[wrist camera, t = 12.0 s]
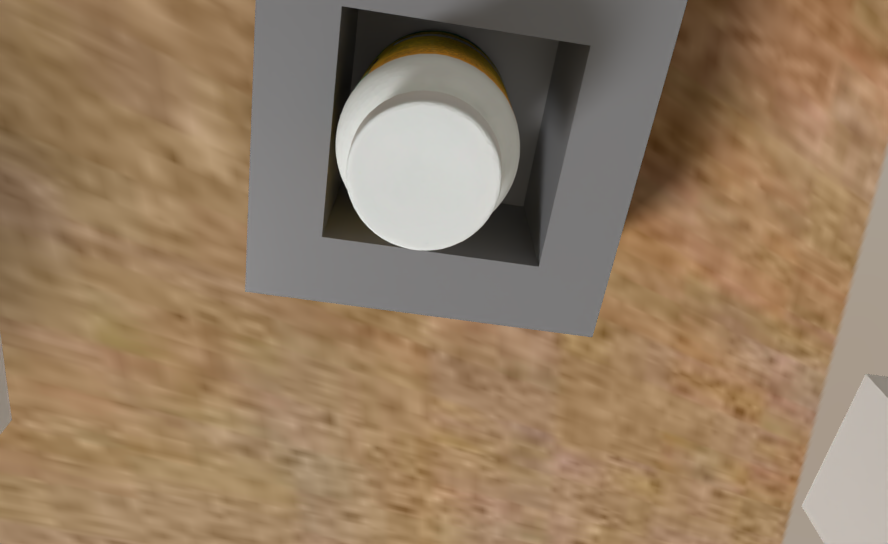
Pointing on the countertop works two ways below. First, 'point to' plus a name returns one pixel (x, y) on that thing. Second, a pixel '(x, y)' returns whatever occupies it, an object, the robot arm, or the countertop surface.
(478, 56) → the supplement bottle
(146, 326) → the countertop surface
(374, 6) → the well
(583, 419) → the countertop surface
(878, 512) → the robot arm
